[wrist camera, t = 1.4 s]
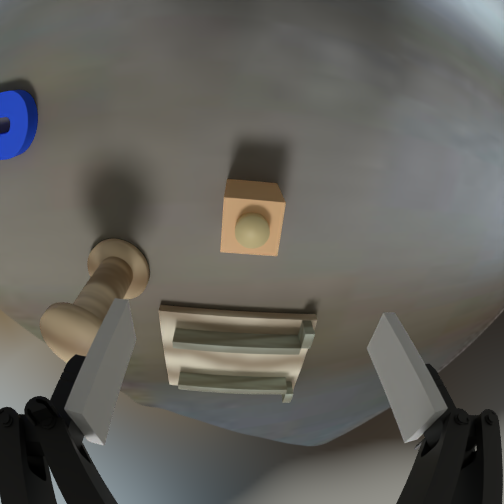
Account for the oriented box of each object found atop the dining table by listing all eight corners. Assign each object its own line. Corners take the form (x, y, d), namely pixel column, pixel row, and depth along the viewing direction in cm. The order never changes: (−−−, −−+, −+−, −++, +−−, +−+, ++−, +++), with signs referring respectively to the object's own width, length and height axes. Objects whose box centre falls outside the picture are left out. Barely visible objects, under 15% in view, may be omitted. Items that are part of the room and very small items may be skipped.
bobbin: (86, 236, 30) (28, 303, 19) (147, 240, 31) (104, 317, 20) (96, 291, 34) (56, 363, 23) (152, 297, 35) (124, 379, 24)
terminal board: (160, 304, 35) (154, 324, 32) (315, 314, 37) (321, 333, 34) (170, 378, 43) (167, 396, 40) (291, 384, 45) (294, 402, 41)
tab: (227, 178, 28) (223, 201, 22) (277, 183, 29) (287, 206, 23) (223, 224, 31) (219, 257, 25) (270, 228, 31) (278, 261, 25)
